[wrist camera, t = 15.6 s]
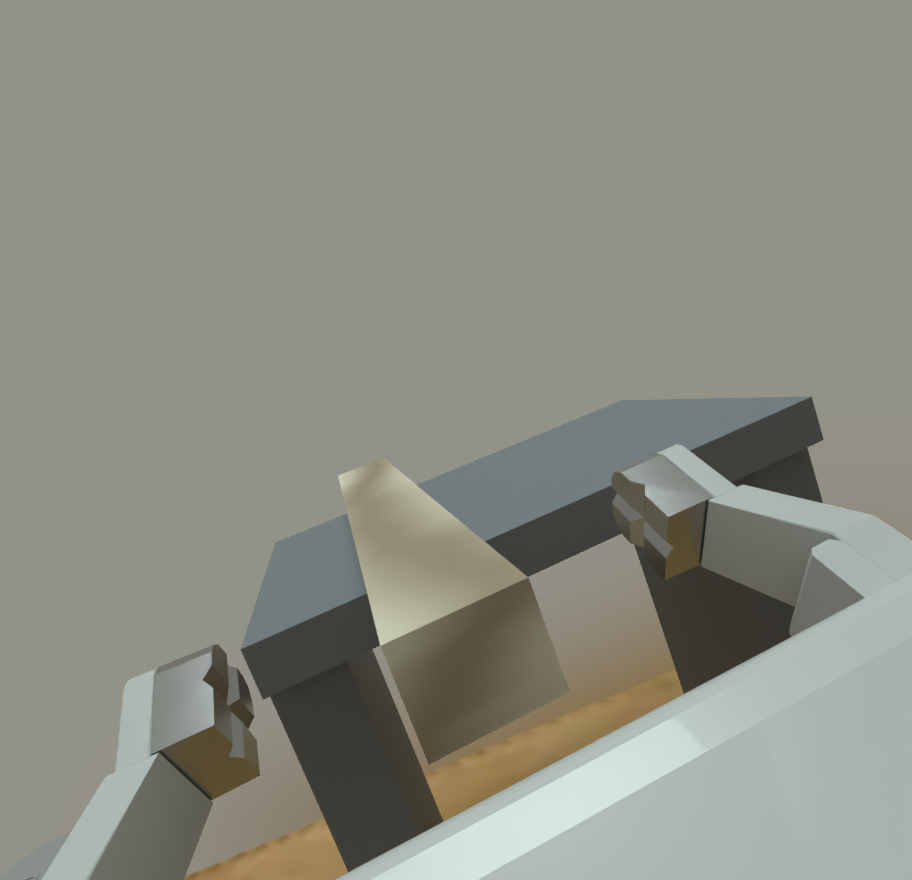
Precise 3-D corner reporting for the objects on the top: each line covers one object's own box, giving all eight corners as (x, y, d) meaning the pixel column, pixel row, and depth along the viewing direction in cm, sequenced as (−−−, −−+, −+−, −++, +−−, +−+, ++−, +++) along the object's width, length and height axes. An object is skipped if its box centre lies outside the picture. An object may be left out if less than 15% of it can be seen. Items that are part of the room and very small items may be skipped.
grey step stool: (723, 718, 44) (619, 400, 41) (948, 893, 28) (811, 396, 25) (422, 886, 39) (275, 541, 36) (492, 1211, 23) (240, 649, 20)
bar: (397, 494, 37) (383, 457, 36) (569, 691, 11) (528, 577, 11) (352, 512, 36) (337, 475, 36) (429, 764, 11) (380, 645, 10)
